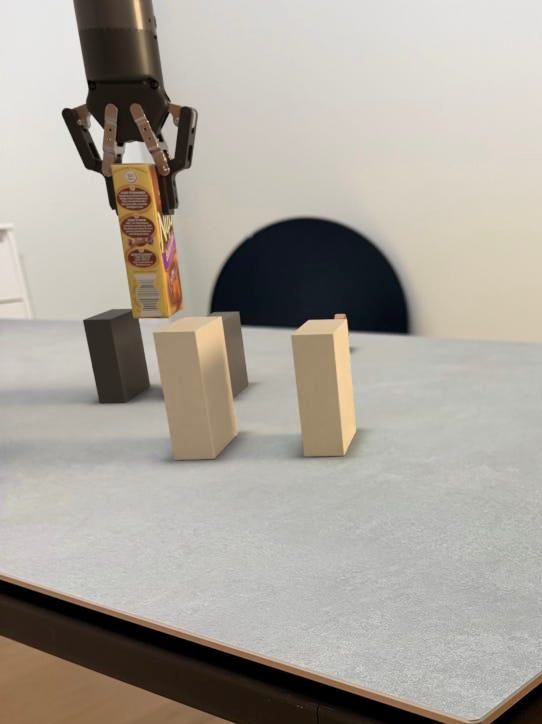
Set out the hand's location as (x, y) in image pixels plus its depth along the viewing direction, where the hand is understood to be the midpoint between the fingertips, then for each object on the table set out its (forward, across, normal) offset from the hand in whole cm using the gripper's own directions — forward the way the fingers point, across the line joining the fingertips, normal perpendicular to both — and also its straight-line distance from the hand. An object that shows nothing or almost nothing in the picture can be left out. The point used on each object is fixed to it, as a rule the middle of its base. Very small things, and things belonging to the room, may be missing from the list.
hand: (146, 214), depth 103 cm
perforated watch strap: (+19, +16, +27) cm, 37 cm away
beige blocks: (+19, +16, -25) cm, 35 cm away
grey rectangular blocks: (+19, 0, 0) cm, 19 cm away
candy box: (+10, 0, 0) cm, 10 cm away
